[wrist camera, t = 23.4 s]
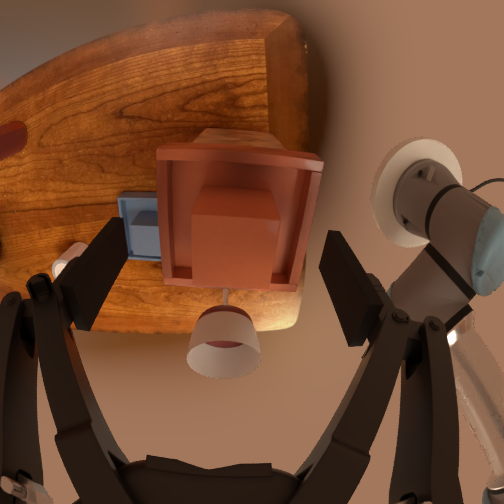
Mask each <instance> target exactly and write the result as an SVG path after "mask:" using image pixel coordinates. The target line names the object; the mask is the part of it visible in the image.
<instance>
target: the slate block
mask: <svg viewBox="0 0 504 504" xmlns="http://www.w3.org/2000/svg"><path fill="white" fill-rule="evenodd" d="M130 231H131V239H132V246H133V253H134V255H147V256H161V252H160V240H159V227H158V212H157V211H140V212H139V213H138V215H137V216H136V217H135V219H134V220H133V221H132V223H131V224H130Z"/></svg>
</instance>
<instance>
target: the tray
mask: <svg viewBox="0 0 504 504" xmlns="http://www.w3.org/2000/svg"><path fill="white" fill-rule="evenodd" d="M117 200H118V209H119V217H122V218H124V226H125V234H126V241H127V247H128V254H129V257H128V259H134V260H147V261H161V256H147V255H134V253H133V246H132V239H131V231H130V224H131V223H132V221H133V220H134V219H135V217H136V216H137V215H138V213H139V212H140V211H157V212H158V210H157V192H122V193H121V194H120V195H119V196H118V197H117Z"/></svg>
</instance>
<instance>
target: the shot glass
mask: <svg viewBox="0 0 504 504" xmlns="http://www.w3.org/2000/svg"><path fill="white" fill-rule="evenodd" d="M87 247H88V245H87V244H85V243H83V242H76V243H74V244H73V245H72V246H71V247H70V248H69V249H68V250H67V251H66V252H64V253H63V254H62V255H61V256H60V257H59V258H58V259H57V260H56V261H55V262H54V263H53V265H52V273H53V276H54V278H55V279H56V278H57V276H58V275H59V274H60V273H61V271H62V270H63V268H64V267H65V266H66V264H67V263H68V262H69V261H70V260H71V259H73V258H74V257H76V256H79V257H80V255H81V254H82V253H83V252H84V250H85V249H86V248H87Z"/></svg>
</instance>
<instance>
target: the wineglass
mask: <svg viewBox="0 0 504 504" xmlns="http://www.w3.org/2000/svg"><path fill="white" fill-rule="evenodd" d="M260 354H261V353H260V347H259V342H258V338H257V334H256V331H255V328H254V325H253V322H252V320H251V318H250V316H249V315H248V314H247V313H246V312H245V311H244V310H242V309H240V308H238V307H235V306H231V305H228V289H224V290H223V305H219V306H214V307H211V308H209V309H207V310H206V311H205V312H203V313H202V314H201V316H200V317H199V319H198V321H197V323H196V325H195V327H194V330H193V333H192V336H191V340H190V344H189V348H188V353H187V362H188V364H189V366H190V367H191V368H192V369H193V370H195V371H196V372H198V373H200V374H202V375H205V376H208V377H213V378H219V379H231V378H238V377H242V376H245V375H248V374H250V373H251V372H253V371H255V370H256V369H257V368H258V367H259V365H260V363H261V355H260Z"/></svg>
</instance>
